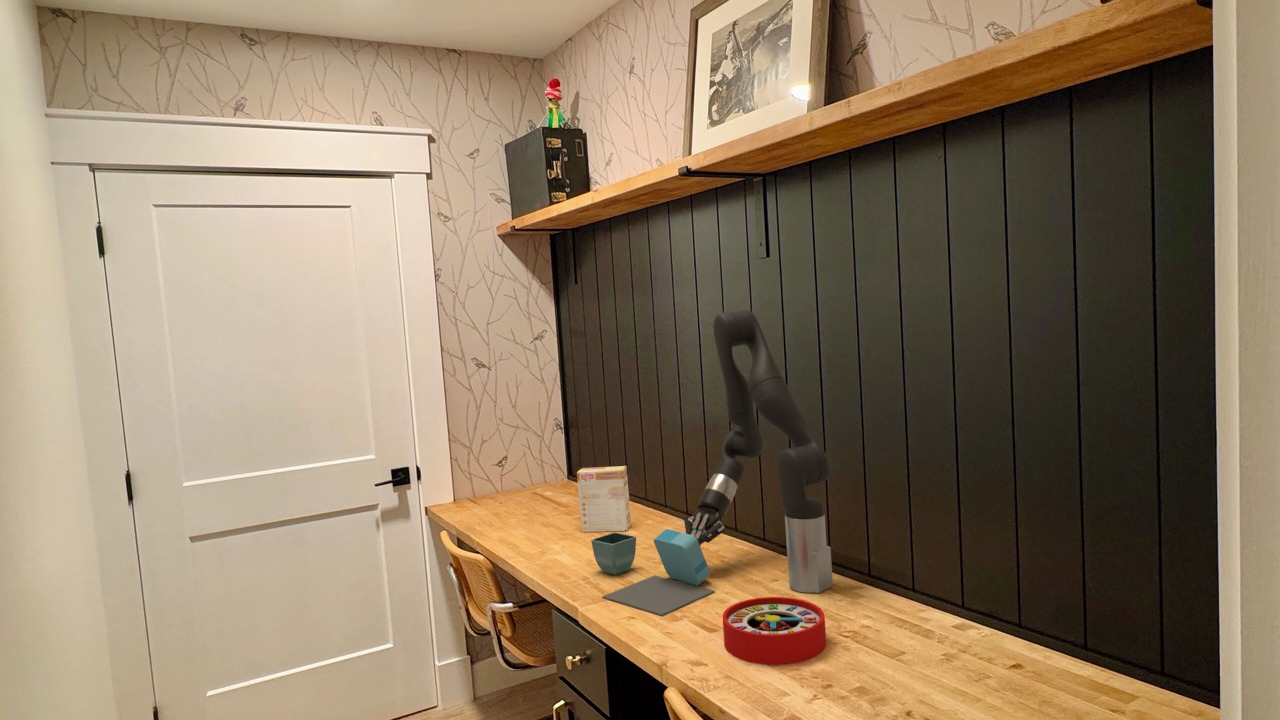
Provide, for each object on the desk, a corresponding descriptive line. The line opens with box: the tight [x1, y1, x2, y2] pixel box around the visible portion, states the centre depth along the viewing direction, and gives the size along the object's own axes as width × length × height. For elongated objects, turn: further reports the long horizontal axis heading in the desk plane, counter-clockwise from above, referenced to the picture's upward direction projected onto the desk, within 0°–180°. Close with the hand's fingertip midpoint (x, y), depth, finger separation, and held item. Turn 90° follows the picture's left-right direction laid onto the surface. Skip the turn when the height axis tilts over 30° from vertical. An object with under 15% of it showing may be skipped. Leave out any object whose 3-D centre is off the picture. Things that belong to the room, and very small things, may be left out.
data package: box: [653, 528, 711, 587], centre depth 195 cm, size 12×4×12 cm, turn 39°
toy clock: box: [722, 596, 827, 666], centre depth 156 cm, size 20×6×20 cm
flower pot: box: [590, 531, 637, 576], centre depth 208 cm, size 9×9×9 cm
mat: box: [601, 575, 716, 617], centre depth 188 cm, size 20×18×1 cm
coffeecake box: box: [576, 465, 632, 533], centre depth 251 cm, size 15×7×20 cm, turn 80°
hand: (689, 553), depth 197 cm, fingers closed
